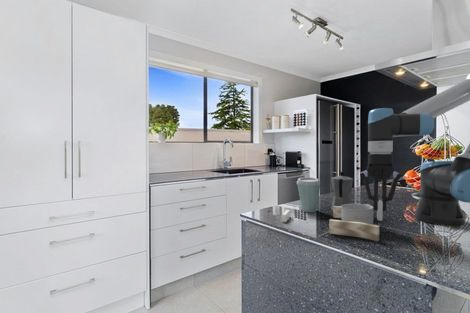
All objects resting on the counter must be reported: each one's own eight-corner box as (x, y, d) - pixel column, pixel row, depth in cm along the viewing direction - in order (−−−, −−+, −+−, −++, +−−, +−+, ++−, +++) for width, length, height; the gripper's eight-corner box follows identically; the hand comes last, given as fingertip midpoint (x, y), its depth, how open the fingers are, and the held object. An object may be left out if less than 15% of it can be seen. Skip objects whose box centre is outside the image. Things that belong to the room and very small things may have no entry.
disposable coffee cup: (325, 212, 112) (325, 179, 112) (303, 214, 110) (303, 180, 109) (313, 207, 123) (312, 176, 122) (292, 208, 120) (292, 177, 120)
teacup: (357, 234, 85) (357, 210, 84) (334, 225, 95) (334, 204, 95) (387, 228, 90) (387, 206, 89) (362, 220, 100) (362, 200, 99)
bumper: (290, 216, 107) (290, 209, 107) (285, 222, 100) (285, 214, 99) (286, 216, 108) (286, 209, 107) (281, 221, 100) (281, 214, 100)
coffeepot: (332, 206, 123) (332, 170, 122) (353, 208, 119) (353, 170, 118) (328, 214, 109) (328, 173, 109) (352, 217, 105) (352, 174, 104)
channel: (372, 218, 102) (372, 207, 102) (379, 241, 78) (379, 227, 78) (333, 215, 108) (333, 204, 108) (328, 235, 84) (328, 222, 84)
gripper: (360, 153, 88) (359, 220, 89) (404, 153, 82) (403, 224, 83) (359, 152, 94) (358, 214, 95) (400, 152, 89) (399, 218, 90)
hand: (379, 219), depth 89 cm, fingers closed
